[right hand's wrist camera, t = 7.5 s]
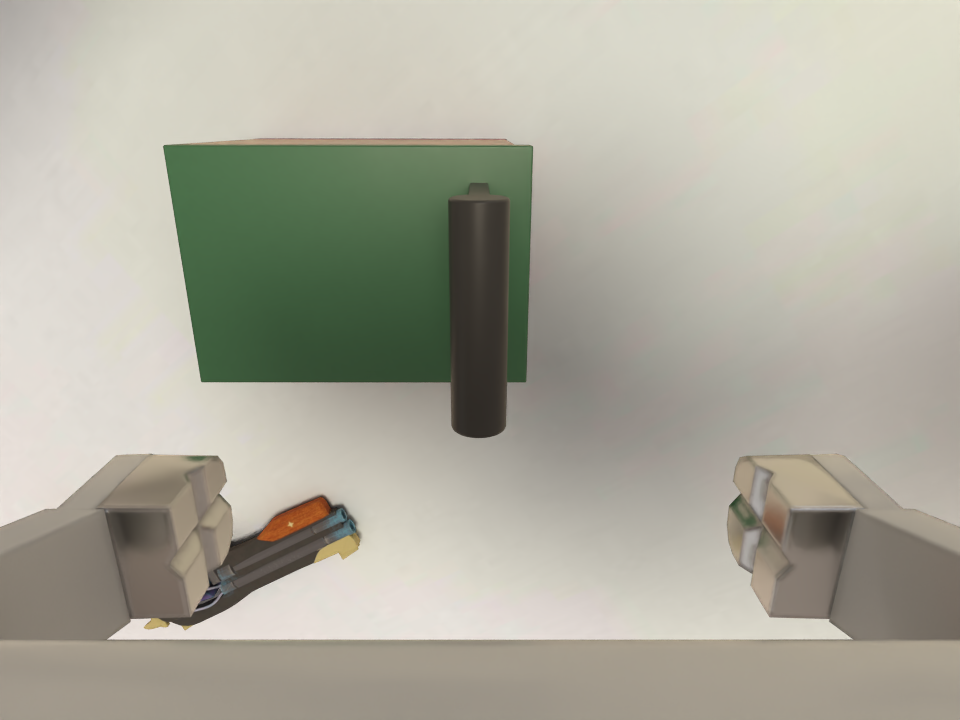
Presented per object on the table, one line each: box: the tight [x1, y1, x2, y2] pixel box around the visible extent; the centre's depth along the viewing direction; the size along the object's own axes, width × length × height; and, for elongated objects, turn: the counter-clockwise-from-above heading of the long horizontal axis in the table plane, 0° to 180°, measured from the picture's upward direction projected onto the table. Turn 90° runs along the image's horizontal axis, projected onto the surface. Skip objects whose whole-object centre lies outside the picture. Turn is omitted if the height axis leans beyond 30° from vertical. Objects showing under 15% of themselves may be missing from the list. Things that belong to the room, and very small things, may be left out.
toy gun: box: [144, 497, 360, 630], centre depth 42 cm, size 3×19×10 cm
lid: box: [163, 144, 533, 438], centre depth 23 cm, size 14×10×9 cm
